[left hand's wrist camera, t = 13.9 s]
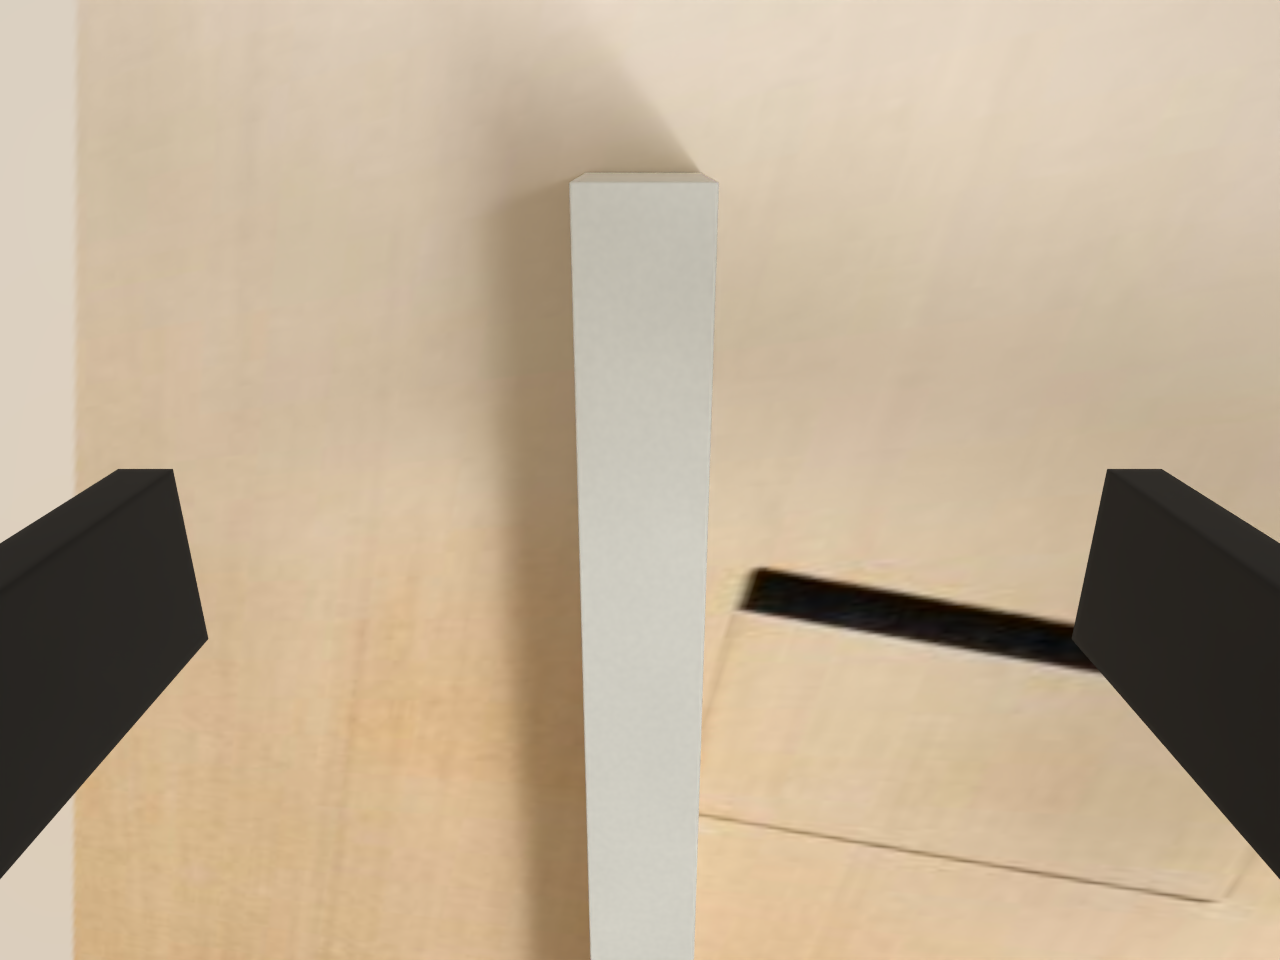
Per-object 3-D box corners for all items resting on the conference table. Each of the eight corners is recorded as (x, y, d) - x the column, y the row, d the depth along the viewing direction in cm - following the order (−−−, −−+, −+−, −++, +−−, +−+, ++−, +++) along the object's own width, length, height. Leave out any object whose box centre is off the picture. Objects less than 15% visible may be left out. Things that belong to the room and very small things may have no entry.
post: (584, 172, 36) (568, 181, 28) (702, 172, 36) (719, 181, 28) (604, 1107, 56) (598, 1259, 49) (678, 1107, 56) (684, 1259, 49)
